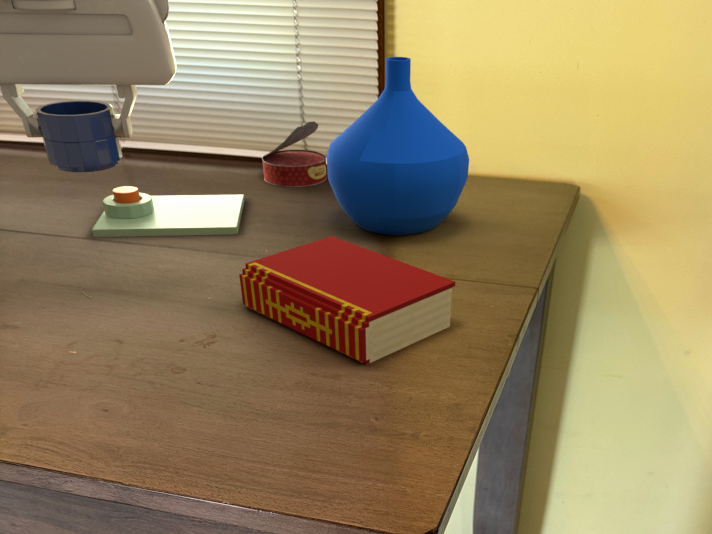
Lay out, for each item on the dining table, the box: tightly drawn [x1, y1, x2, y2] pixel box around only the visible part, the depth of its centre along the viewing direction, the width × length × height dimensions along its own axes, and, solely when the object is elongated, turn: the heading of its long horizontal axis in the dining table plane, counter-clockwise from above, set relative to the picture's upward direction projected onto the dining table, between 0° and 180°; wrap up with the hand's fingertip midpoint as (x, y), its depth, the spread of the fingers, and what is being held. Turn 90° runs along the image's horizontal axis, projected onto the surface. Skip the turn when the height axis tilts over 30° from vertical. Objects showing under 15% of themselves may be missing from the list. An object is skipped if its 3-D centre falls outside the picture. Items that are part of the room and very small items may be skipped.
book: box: [238, 235, 456, 366], centre depth 77 cm, size 18×13×5 cm
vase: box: [325, 56, 470, 236], centre depth 96 cm, size 18×18×19 cm
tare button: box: [112, 185, 140, 204], centre depth 99 cm, size 3×3×2 cm
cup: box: [34, 100, 123, 173], centre depth 74 cm, size 7×7×5 cm
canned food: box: [261, 121, 328, 188], centre depth 116 cm, size 11×10×10 cm
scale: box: [91, 192, 245, 238], centre depth 101 cm, size 18×14×3 cm
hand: (80, 136), depth 74 cm, fingers closed on cup, 7 cm apart
